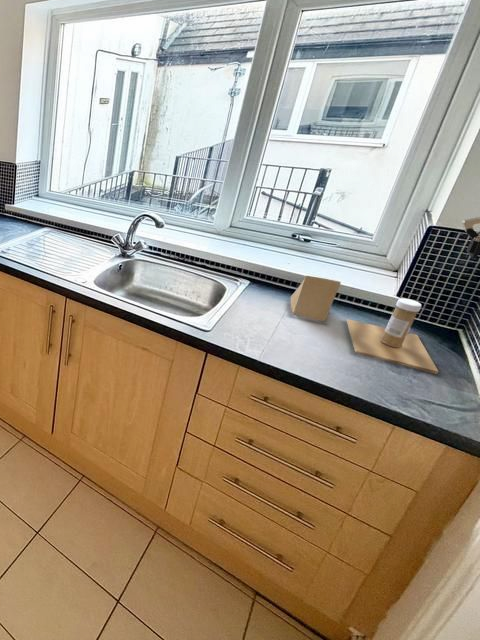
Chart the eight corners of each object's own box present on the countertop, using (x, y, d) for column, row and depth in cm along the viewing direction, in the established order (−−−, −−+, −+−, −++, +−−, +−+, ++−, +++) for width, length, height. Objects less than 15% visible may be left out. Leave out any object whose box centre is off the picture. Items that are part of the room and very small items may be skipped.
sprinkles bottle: (405, 347, 116) (426, 304, 111) (393, 349, 116) (414, 306, 110) (387, 337, 121) (406, 296, 115) (375, 339, 120) (394, 298, 114)
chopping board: (415, 339, 123) (417, 334, 123) (436, 376, 106) (438, 371, 106) (344, 323, 132) (346, 318, 131) (354, 355, 115) (355, 350, 115)
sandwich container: (319, 304, 143) (334, 264, 137) (324, 325, 131) (341, 282, 125) (288, 298, 147) (302, 258, 141) (291, 317, 135) (306, 275, 129)
